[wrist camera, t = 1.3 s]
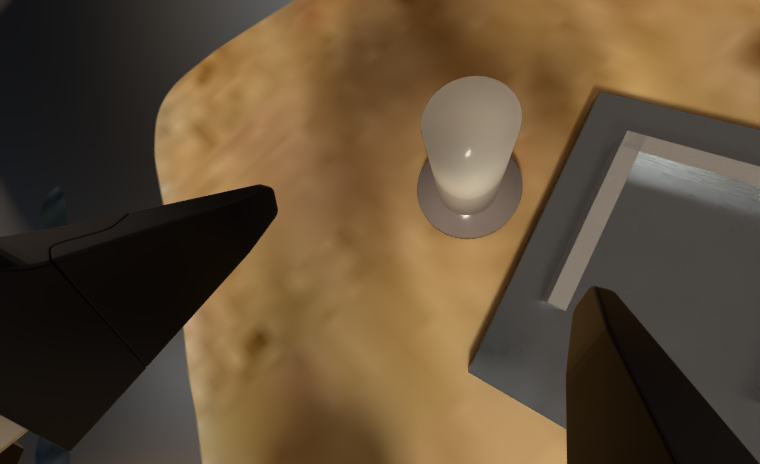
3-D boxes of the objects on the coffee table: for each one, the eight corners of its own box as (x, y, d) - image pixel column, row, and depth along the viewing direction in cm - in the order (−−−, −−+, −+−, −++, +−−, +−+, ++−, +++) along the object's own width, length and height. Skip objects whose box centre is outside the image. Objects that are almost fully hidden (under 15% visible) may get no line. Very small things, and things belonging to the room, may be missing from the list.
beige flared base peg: (528, 231, 20) (583, 186, 11) (425, 244, 22) (395, 215, 13) (510, 136, 22) (545, 23, 12) (414, 156, 24) (380, 69, 14)
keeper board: (1046, 214, 14) (1160, 201, 12) (884, 608, 14) (972, 675, 11) (594, 100, 21) (610, 76, 18) (468, 367, 20) (468, 379, 18)
